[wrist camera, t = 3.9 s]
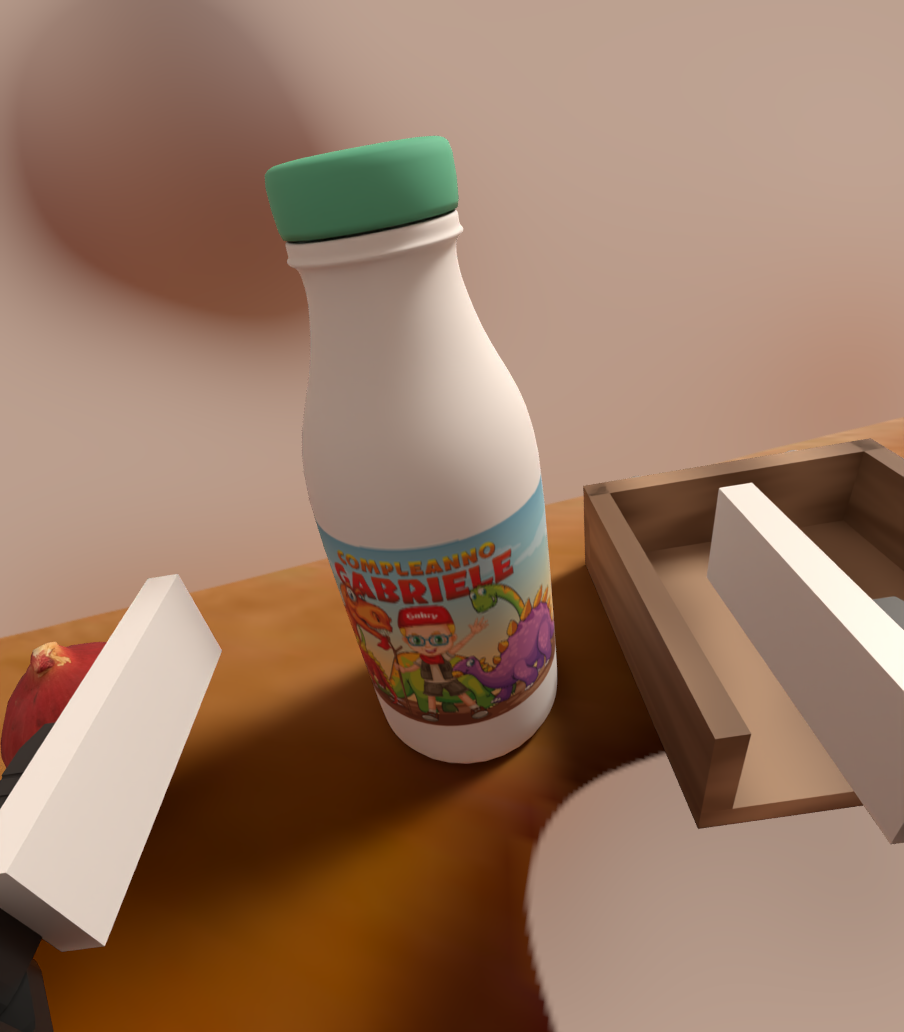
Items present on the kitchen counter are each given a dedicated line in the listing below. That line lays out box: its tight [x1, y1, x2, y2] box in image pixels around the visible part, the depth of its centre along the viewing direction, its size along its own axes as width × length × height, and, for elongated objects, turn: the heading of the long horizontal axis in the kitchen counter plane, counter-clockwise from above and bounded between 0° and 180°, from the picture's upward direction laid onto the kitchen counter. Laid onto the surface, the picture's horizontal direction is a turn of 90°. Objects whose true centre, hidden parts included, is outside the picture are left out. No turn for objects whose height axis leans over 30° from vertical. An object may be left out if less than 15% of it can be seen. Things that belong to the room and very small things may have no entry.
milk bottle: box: [265, 136, 557, 764], centre depth 18 cm, size 8×8×20 cm
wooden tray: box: [583, 438, 904, 829], centre depth 23 cm, size 14×15×5 cm
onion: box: [1, 642, 107, 768], centre depth 21 cm, size 6×6×8 cm
